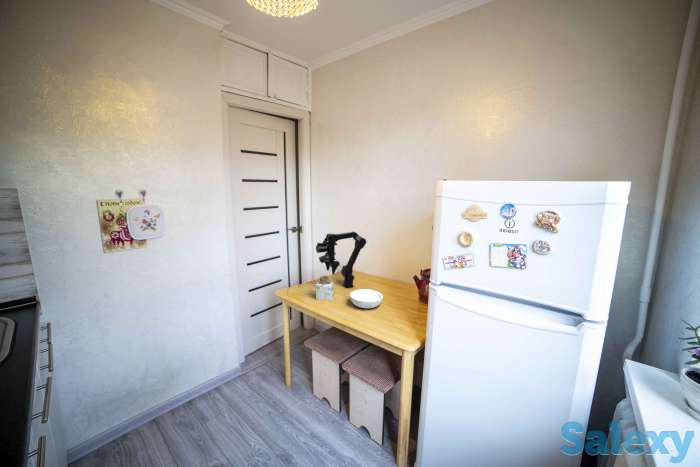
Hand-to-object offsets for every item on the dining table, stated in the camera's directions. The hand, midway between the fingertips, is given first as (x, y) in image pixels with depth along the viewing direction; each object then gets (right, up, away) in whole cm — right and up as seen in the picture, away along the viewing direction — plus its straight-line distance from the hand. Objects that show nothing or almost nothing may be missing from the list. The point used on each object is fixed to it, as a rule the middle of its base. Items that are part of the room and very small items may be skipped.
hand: (330, 272), depth 199 cm
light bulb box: (-3, -16, -14) cm, 21 cm away
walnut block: (-3, -5, -16) cm, 17 cm away
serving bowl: (+24, -18, -23) cm, 38 cm away
